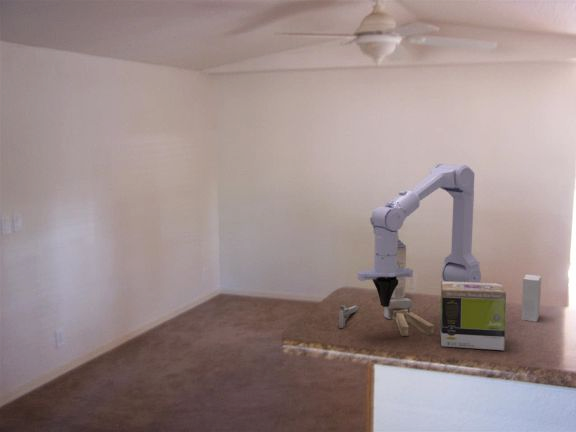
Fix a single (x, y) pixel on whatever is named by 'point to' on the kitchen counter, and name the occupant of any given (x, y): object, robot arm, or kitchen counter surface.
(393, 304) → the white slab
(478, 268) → the robot arm
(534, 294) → the skincare box
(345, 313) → the caliper
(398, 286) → the cream cylinder
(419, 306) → the kitchen counter surface
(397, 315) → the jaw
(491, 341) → the tea box
